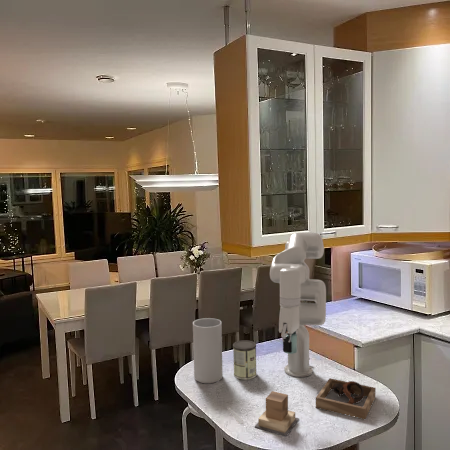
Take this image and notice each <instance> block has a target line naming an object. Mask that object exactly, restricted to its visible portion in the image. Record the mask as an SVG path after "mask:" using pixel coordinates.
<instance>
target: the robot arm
mask: <svg viewBox="0 0 450 450" xmlns="http://www.w3.org/2000/svg"><path fill="white" fill-rule="evenodd" d="M284 245H285V246H284V250H283V251H281V252H279V253H277V254H276V255H275V256H274V257H273V259H272V261H271V265H270V267H269V278H270V280H271V281H272V282H273V283H277V284H279V306H280V310H279V319H278V332H279V334H281V338H282V351H283V352H284V353H285V352H288V353H291V352H292V342H291V334H292V333H293V334H296V335H297V352H296V353H294V354H288V353H287V364H286V365H285V366H284V373H285V374H287V375H288V376H291V377H294V378H295V377H296V378H306V377H309V376H310V375H312V374H313V373H314V371H313V370H314V369H313V368H312V366H310V359H311V358H310V333H309V331H308V328H306V326H323V325H324V324H325V323H326V319H327V318H326V317H327V313H326V311H327V287H326V283H325V281H323V280H321V279H312V278H311V279H310V267H309V265H308V264H307V263H306V262H305V260H306V259H310V260H311V259H315V260H317V259H322V258H323V256H324V252H325V246H324V240H323V238H322V236H321V235H320V233H317V232H294V233H292V234H291V235H290V236H289V237H288V240H287V242H285V244H284ZM301 301H310V302H301ZM311 301H313V302H315V303H312V302H311ZM287 335H289V338H288V336H287Z"/></svg>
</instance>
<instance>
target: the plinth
mask: <svg viewBox="0 0 450 450" xmlns="http://www.w3.org/2000/svg"><path fill="white" fill-rule="evenodd" d="M299 420H300V418H298V417H296V411H292V410H289V409H288V414H287V415H286V417H285V418H284V419H283V420H282V421H278V420H274V419H271V418H267V417H266V410H264V412H262V414H261V415H260V416H259V418H258V422H256V424H255V425H254V428H256V429H259V430H263V431H266V432H270V433H274V434H277V435H280V436H284V437H287V436H288V435H289V434H290V433H291V431H292V430H293V428H294V427H295V426H296V424H297V423H298V422H299Z"/></svg>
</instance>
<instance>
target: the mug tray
mask: <svg viewBox="0 0 450 450" xmlns="http://www.w3.org/2000/svg"><path fill="white" fill-rule="evenodd" d="M347 382H348V381H346V380H345V381H344V380H339V379H335V378H331V377H329V378H328V380H327V381H326V383H325V384H324V385H323V387H322V388H321V390H319V392H318V394H317V395H316V396H315V408H316V409H319V408H321V409H320V410H323V409H324V411H327V410H328V411H327V412H333V413H336V414H340V413H341V414H340V415H344V414H346V415H345V416H348V415H350V416H349V417H352V416H355V417H354V418H356V417H358V418H357V419H360V418H362V419H361V420H364V419H367V417H368V415H369V413H370V411H369V410H371V408H372V406H373V404H372V403H374V402H373V401H375V400H376V393H377V391H376V387H374V386H373V387H372V386H370V385H369V386H368V385H365V384H360V385H361V386H362V387H363V389H364V397H365V396H367V397H366V399H365V402H364V404H363V405H361V406H360V405H357V404H353V405H352V404H348V402H343V401H338V400H336V399H335V400H334V399H332V398H331V399H330V398H327V397H328V395H329V394H330V393H331V391H332V390H333V388H332V387H333V385H334V384H336V383H339V384H341V385H343V384H345V383H347ZM350 388H351V389H353V390H355V392H354V394H353V395H355V394H356V395H355V396H358V395H360V394H361V389H360V388H359V387H358V386H357V385H352V386H351V387H350ZM337 389H338V388H337ZM338 390H339V389H338ZM371 405H372V406H371ZM368 412H369V413H368Z"/></svg>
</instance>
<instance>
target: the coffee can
mask: <svg viewBox="0 0 450 450" xmlns="http://www.w3.org/2000/svg"><path fill="white" fill-rule="evenodd" d="M232 348H233V350H232V351H233V352H232V353H233V376H234V377H235V378H236V379H238V380H243V381H245V380H247V381H248V380H252V379H254V378H256V376H257V343H256V342H255V341H253V340H243V339H242V340H237V341H234V342H233V344H232Z"/></svg>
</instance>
